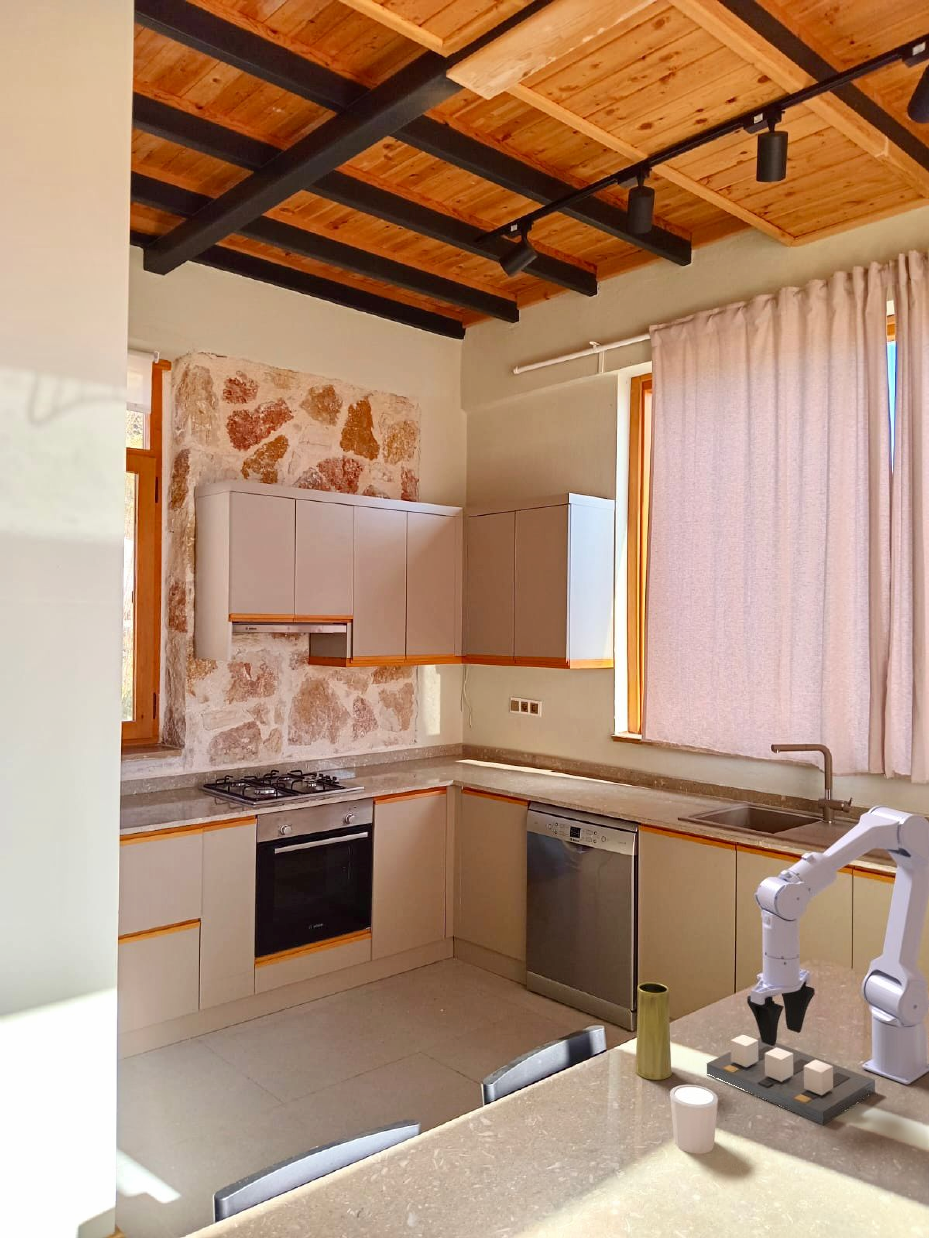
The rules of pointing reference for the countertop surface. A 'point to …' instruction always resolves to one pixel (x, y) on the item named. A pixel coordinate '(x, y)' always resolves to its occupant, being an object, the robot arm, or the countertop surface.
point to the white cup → (694, 1118)
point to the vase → (653, 1032)
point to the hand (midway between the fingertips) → (781, 1036)
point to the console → (795, 1084)
